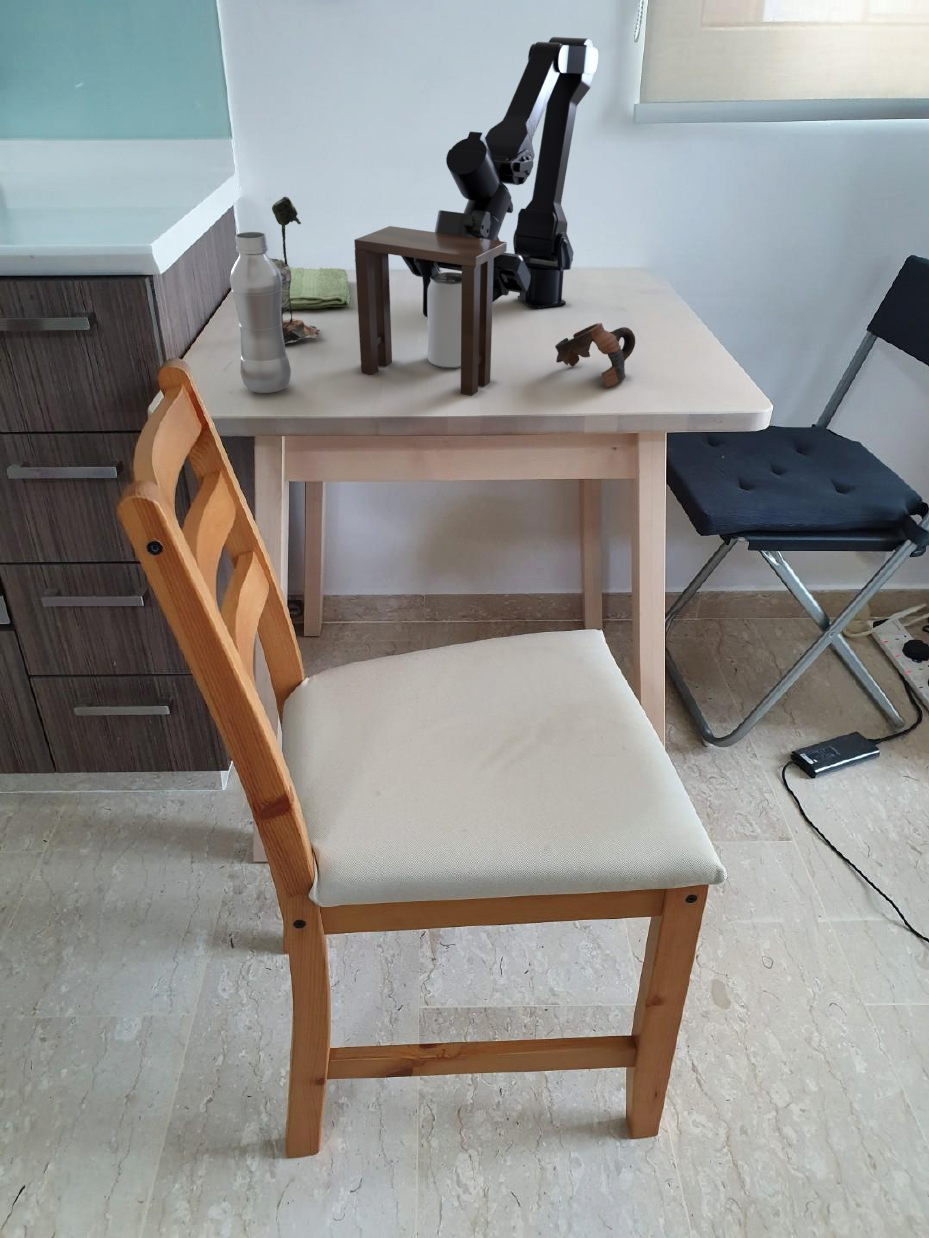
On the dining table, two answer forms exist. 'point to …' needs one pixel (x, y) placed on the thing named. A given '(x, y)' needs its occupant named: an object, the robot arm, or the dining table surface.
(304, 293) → the washcloth
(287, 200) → the plant with pod
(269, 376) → the plastic bottle
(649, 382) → the dining table surface
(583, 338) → the brown jagged looped part
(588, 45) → the robot arm
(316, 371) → the dining table surface
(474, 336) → the desk
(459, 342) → the can
